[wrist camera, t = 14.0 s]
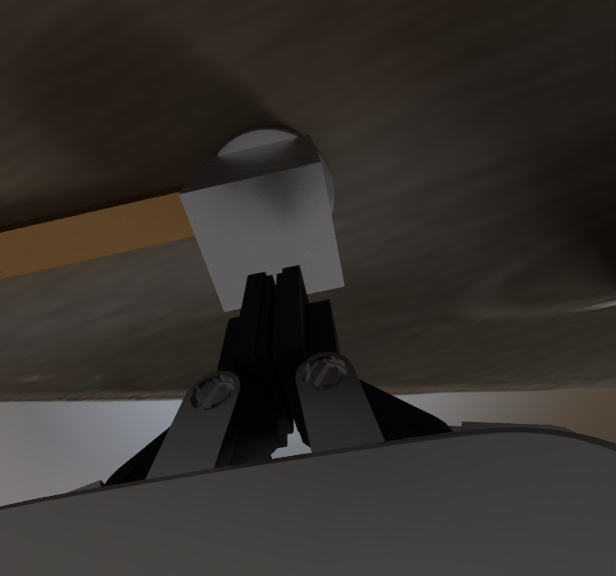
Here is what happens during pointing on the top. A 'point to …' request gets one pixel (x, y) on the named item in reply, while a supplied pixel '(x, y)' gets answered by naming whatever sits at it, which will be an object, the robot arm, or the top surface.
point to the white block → (263, 217)
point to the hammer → (118, 220)
